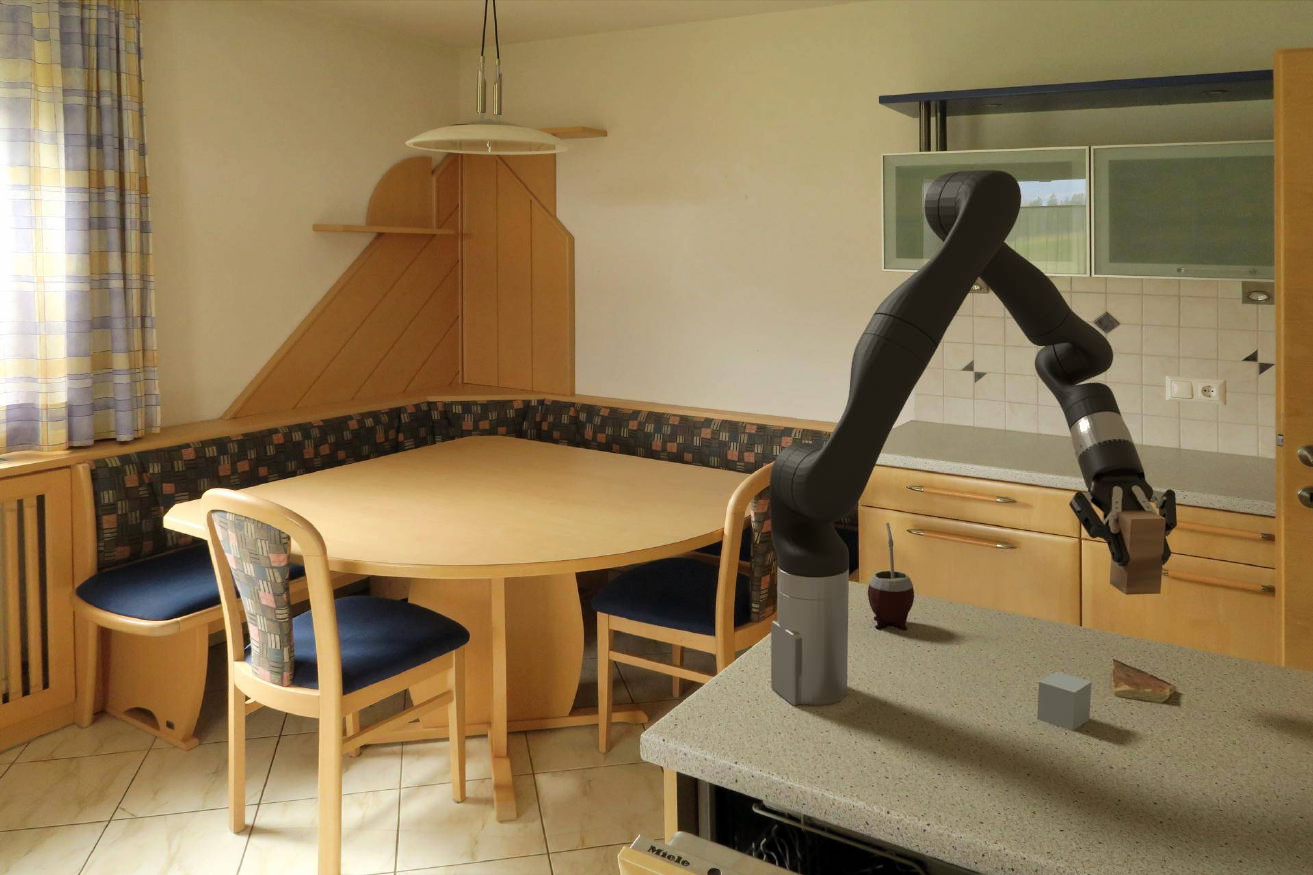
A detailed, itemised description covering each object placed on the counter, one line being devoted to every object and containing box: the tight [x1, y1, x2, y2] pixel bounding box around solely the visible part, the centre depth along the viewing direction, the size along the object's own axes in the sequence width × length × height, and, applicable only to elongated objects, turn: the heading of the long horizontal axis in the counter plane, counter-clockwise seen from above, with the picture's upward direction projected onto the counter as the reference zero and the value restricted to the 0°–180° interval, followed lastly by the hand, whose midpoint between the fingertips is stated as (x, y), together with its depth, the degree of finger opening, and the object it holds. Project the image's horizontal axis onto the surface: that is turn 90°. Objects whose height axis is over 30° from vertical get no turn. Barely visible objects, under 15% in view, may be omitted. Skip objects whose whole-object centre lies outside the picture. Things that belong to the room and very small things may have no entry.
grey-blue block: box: [1036, 671, 1092, 731], centre depth 127 cm, size 4×4×5 cm
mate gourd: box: [867, 522, 915, 632], centre depth 160 cm, size 8×8×15 cm
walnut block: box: [1109, 510, 1166, 596], centre depth 133 cm, size 4×4×10 cm
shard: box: [1111, 658, 1177, 704], centre depth 137 cm, size 11×8×2 cm
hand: (1144, 562), depth 132 cm, fingers closed on walnut block, 4 cm apart
